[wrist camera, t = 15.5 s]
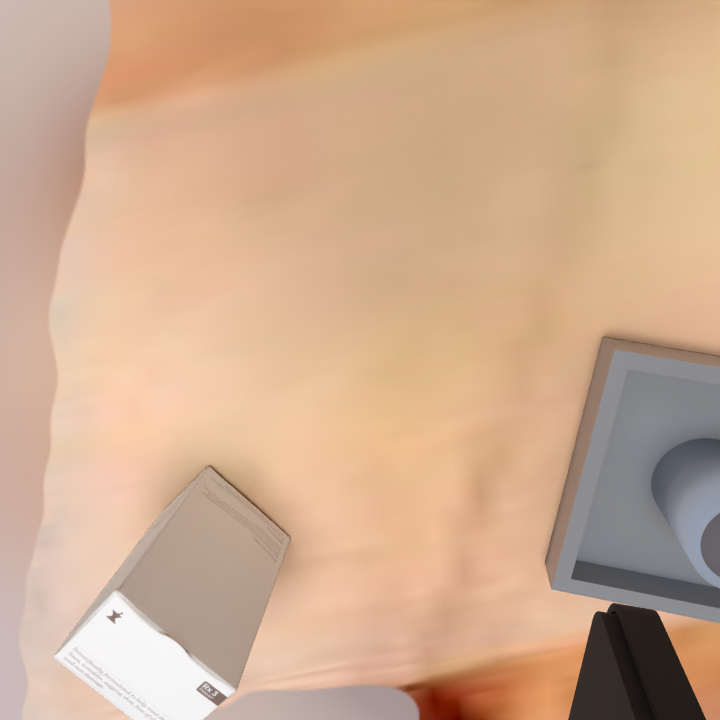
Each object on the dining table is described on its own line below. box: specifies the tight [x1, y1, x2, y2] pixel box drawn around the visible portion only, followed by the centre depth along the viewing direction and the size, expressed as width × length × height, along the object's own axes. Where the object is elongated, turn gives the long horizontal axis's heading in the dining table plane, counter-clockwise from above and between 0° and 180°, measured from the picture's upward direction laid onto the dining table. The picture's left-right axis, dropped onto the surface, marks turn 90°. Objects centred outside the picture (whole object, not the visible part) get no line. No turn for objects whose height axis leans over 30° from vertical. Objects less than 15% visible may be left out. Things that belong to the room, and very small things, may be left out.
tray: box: [545, 337, 720, 623], centre depth 40 cm, size 16×16×3 cm
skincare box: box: [54, 467, 290, 720], centre depth 40 cm, size 8×6×15 cm
